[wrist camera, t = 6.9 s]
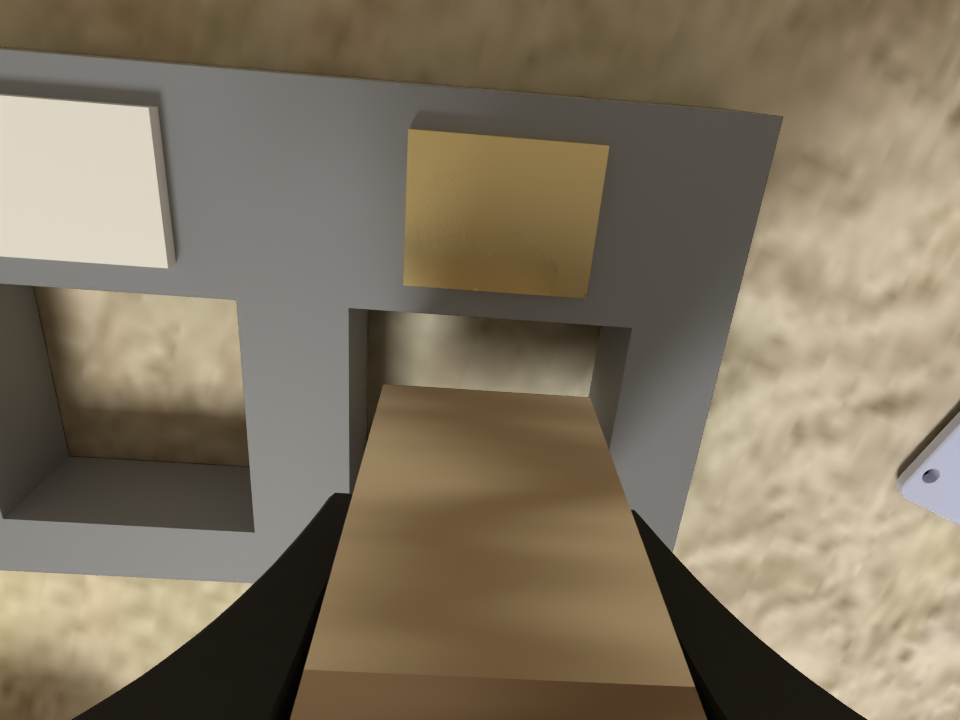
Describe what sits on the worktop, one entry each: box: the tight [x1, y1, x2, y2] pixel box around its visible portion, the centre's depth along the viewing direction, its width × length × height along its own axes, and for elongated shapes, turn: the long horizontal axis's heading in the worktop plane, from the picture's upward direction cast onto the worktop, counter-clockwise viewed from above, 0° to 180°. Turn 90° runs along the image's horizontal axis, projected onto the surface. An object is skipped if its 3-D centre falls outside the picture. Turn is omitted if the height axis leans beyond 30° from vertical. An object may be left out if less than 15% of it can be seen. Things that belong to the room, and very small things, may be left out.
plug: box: [290, 384, 707, 720], centre depth 11 cm, size 4×4×8 cm
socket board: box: [0, 47, 783, 583], centre depth 16 cm, size 20×13×3 cm, turn 85°
